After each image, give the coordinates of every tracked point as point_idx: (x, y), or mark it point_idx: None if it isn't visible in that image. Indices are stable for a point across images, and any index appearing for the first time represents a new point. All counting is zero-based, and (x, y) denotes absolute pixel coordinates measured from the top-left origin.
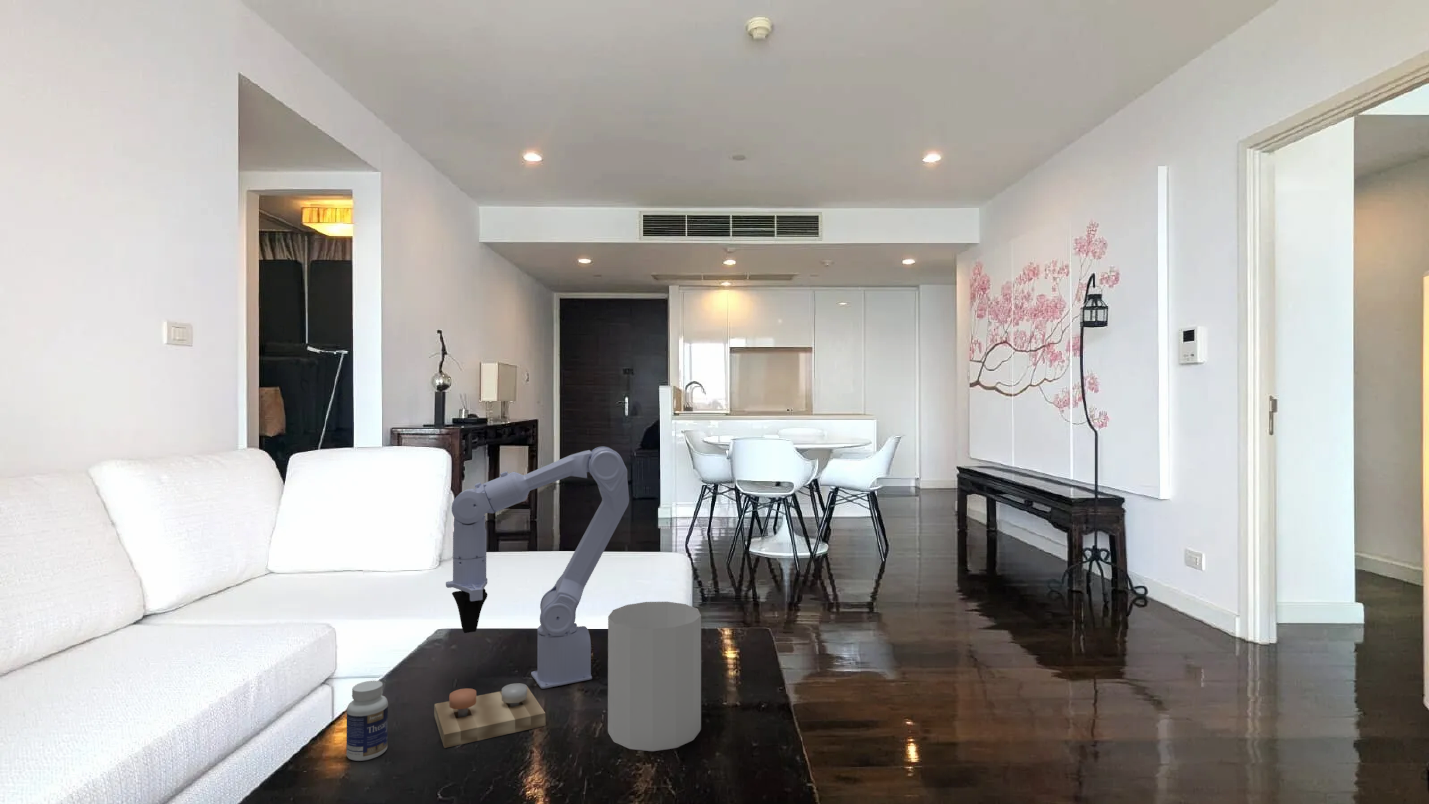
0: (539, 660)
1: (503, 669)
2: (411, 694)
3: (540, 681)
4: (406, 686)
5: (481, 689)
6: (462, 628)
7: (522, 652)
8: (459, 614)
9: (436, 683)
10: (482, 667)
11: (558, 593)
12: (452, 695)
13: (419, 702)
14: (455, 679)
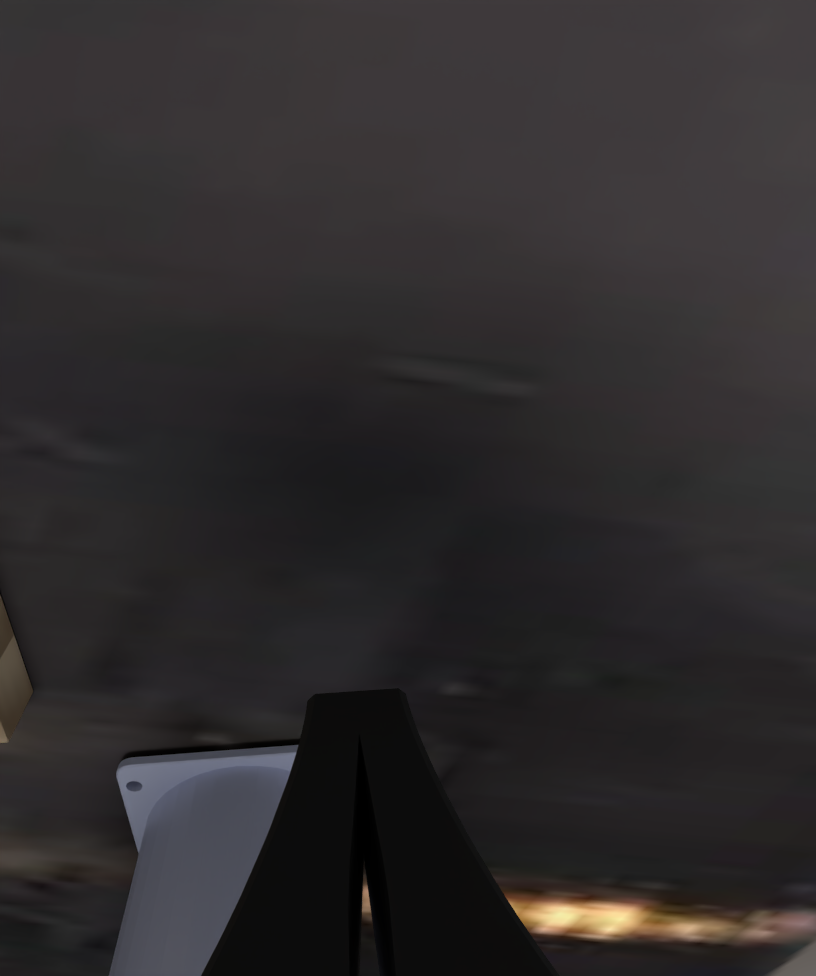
0: (199, 870)
1: (517, 638)
2: (389, 37)
3: (193, 771)
4: (589, 13)
5: (261, 507)
6: (363, 717)
7: (704, 736)
8: (467, 855)
9: (517, 256)
10: (622, 548)
11: None
12: None
13: (187, 84)
14: (517, 385)
